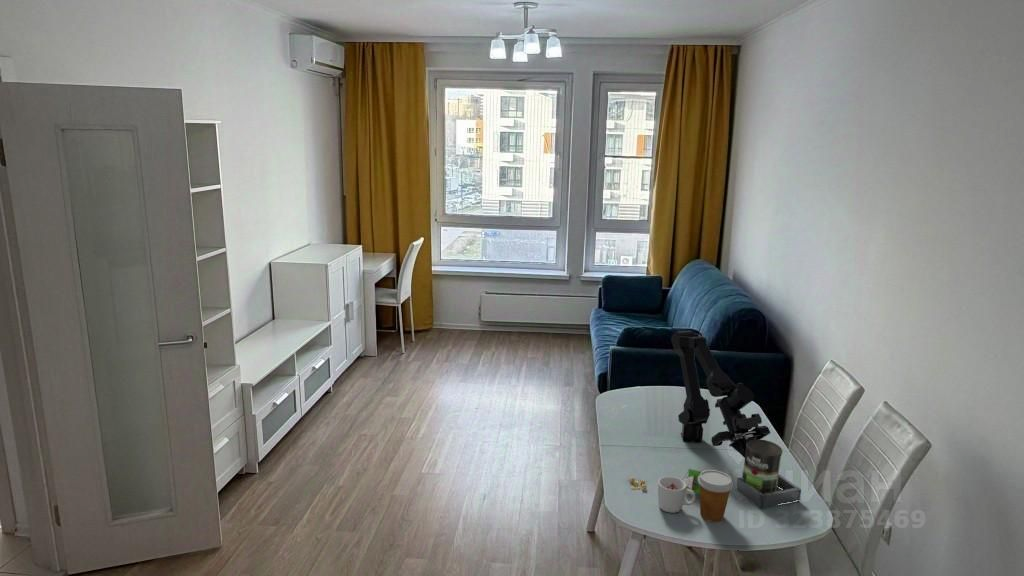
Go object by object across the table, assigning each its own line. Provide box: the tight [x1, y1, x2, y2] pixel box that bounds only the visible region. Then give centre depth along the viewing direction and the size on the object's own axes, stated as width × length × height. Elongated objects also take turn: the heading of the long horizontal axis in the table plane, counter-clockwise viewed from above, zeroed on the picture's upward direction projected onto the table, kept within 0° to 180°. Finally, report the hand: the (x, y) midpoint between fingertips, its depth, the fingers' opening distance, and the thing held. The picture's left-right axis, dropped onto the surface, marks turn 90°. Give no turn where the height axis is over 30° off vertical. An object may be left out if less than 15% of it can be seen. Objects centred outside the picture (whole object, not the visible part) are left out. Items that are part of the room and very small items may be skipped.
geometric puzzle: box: [682, 468, 702, 496], centre depth 202 cm, size 7×7×8 cm
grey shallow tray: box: [735, 474, 802, 510], centre depth 200 cm, size 11×14×4 cm
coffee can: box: [741, 439, 783, 494], centre depth 203 cm, size 10×10×14 cm
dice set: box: [629, 477, 647, 492], centre depth 204 cm, size 5×5×2 cm
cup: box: [657, 476, 697, 514], centre depth 191 cm, size 11×8×8 cm
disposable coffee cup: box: [698, 469, 734, 523], centre depth 188 cm, size 10×10×12 cm
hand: (751, 462), depth 207 cm, fingers closed, pressing on coffee can
